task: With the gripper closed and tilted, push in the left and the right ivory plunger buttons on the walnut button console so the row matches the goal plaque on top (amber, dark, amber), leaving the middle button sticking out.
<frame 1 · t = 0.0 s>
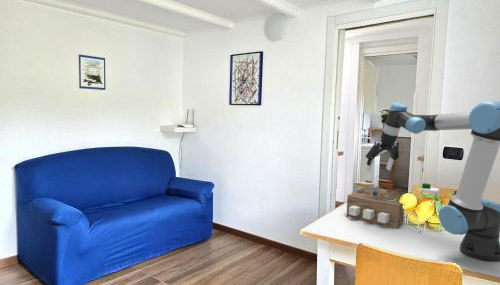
hand: (378, 170, 186), 28 cm above the table, tool tilted 20°, fingers open, 13 cm apart
button left: (355, 210, 190), point 5 cm above the table, slide at 0.0 cm
button right: (384, 217, 179), point 5 cm above the table, slide at 0.0 cm
coffee cup: (462, 218, 198), on the table
button middle: (369, 213, 185), point 5 cm above the table, slide at 0.0 cm
console: (373, 220, 189), on the table
milk carton: (427, 221, 192), on the table
chalk box: (368, 203, 224), on the table
candy bar box: (362, 210, 210), on the table
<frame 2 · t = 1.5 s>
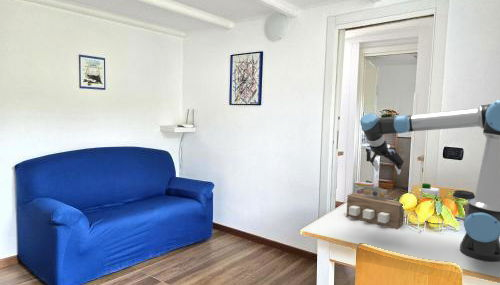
hand: (388, 170, 177), 29 cm above the table, tool tilted 45°, fingers open, 10 cm apart
nothing on the table moved.
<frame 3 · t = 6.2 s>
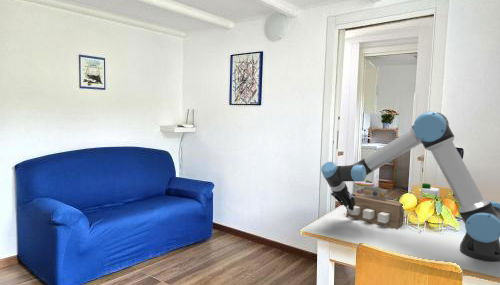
hand: (352, 212, 188), 4 cm above the table, tool tilted 45°, fingers closed
button left: (356, 209, 191), point 5 cm above the table, slide at 1.5 cm, touching gripper
everything else where it was.
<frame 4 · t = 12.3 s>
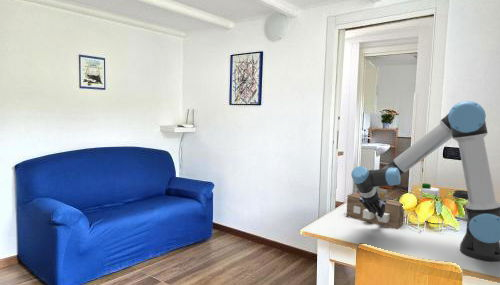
hand: (380, 219, 177), 4 cm above the table, tool tilted 45°, fingers closed
button left: (359, 208, 194), point 5 cm above the table, slide at 4.9 cm
button right: (385, 216, 180), point 5 cm above the table, slide at 1.2 cm, touching gripper
everything else where it was.
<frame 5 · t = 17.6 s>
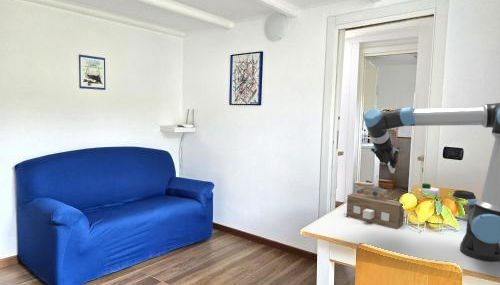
hand: (393, 171, 171), 30 cm above the table, tool tilted 45°, fingers closed
button right: (387, 215, 182), point 5 cm above the table, slide at 4.2 cm
everything else where it was.
at the end: button left slide at 4.9 cm; button right slide at 4.2 cm; button middle slide at 0.0 cm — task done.
